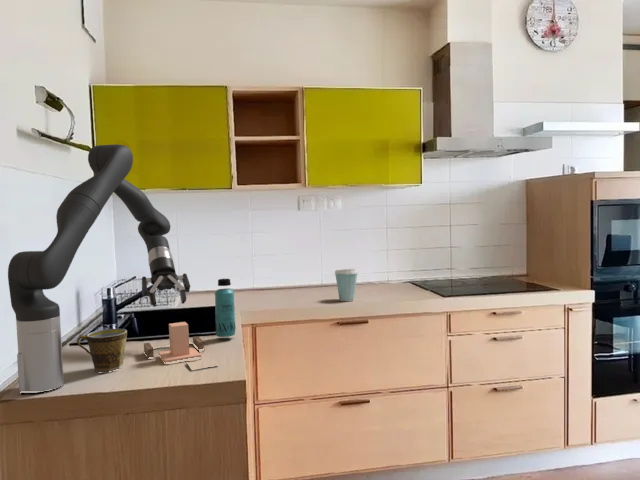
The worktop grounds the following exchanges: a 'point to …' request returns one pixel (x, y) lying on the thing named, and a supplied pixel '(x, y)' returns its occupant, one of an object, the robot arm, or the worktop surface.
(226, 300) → the beverage bottle
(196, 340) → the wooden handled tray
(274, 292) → the worktop surface
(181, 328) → the footed block
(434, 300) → the worktop surface
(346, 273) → the disposable coffee cup
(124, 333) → the ceramic cup
